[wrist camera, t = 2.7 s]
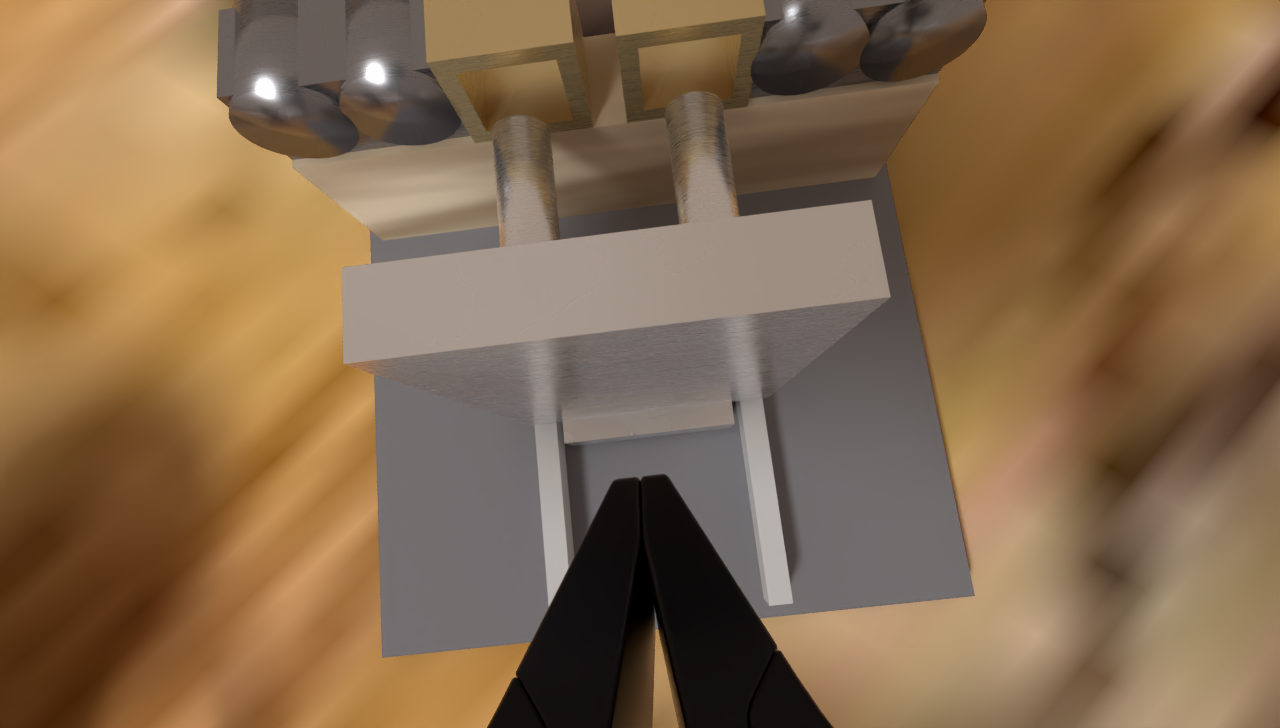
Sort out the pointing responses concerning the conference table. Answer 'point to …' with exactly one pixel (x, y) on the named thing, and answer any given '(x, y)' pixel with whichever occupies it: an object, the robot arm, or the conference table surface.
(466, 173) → the jig block
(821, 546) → the jig base
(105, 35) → the conference table surface
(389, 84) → the chain ends
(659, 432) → the brushed metal plate
